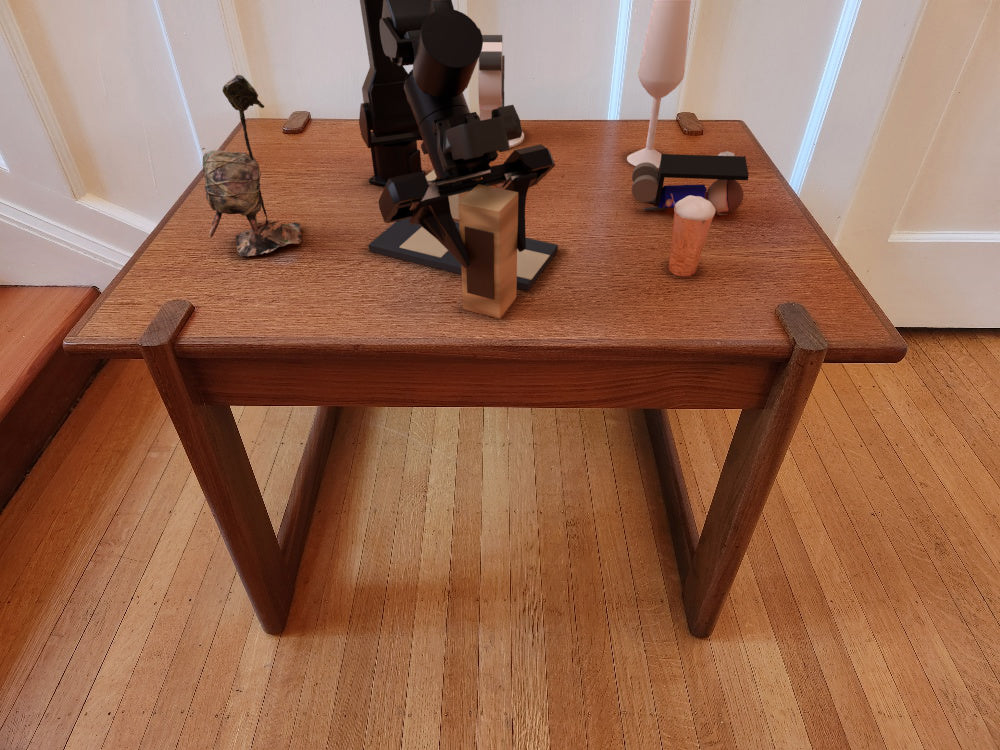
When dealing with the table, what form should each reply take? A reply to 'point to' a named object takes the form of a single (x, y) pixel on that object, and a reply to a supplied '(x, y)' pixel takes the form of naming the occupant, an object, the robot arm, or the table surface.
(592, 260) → the table surface
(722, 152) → the game die
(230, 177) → the bird sculpture
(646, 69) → the champagne flute
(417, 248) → the word mat
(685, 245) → the milkshake
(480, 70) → the white post on disc
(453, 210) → the cream letter cube
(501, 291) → the maple letter block
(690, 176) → the toy vehicle
